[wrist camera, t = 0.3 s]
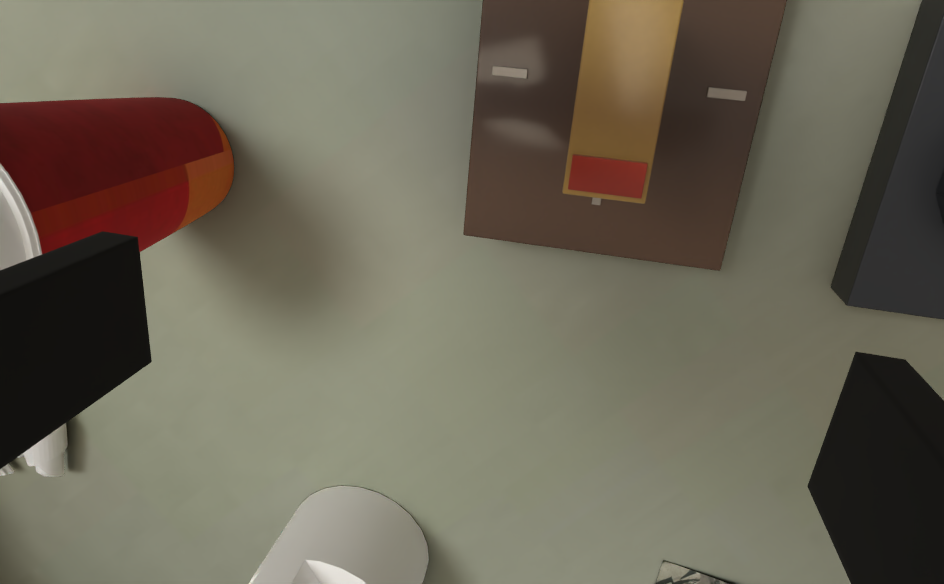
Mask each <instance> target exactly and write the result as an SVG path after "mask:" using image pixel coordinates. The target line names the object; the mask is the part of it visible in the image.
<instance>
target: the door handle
mask: <svg viewBox="0 0 944 584" xmlns="http://www.w3.org/2000/svg"><path fill="white" fill-rule="evenodd" d="M67 446H68V442H67V427H66V423H65V424H63V425H62V426H60V427H59V428H58V429H56V430H55V431H53V432H52V433H51V434H49V435H48V436H46V437H45V438H44V439H42V440H41V441H39V442H38V443H37V444H35V445H34V446H32V447H31V448H30V449H28V450H27V451H25V452H24V453H23V454H21V455H20V456H18V457H17V458H19V457H25V459H26V461H27V464H28V466H36V471H37V473H39V474H41V475H43V476H47V477H60V476H63V475H64V474H65V466H64V451H65V450H66V448H67ZM14 472H15V471H14V470H13V468H12V467H11V466H10V465H9V463H8V464H7V465H6V466H4V467H3V468H1V469H0V475H8V474H11V473H14Z"/></svg>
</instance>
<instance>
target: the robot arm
mask: <svg viewBox="0 0 944 584" xmlns="http://www.w3.org/2000/svg"><path fill="white" fill-rule="evenodd" d="M149 363H151V353H150V344H149V334H148V325H147V316H146V307H145V298H144V288H143V279H142V270H141V261H140V252H139V242H138V237H135V236H129V235H123V234H117V233H111V232H104V231H102V232H99V233H97V234H94V235H91V236H89V237H86V238H84V239H81V240H78V241H76V242H73V243H70V244H68V245H65V246H63V247H60V248H57V249H55V250H52V251H50V252H47V253H44V254H42V255H39V256H37V257H34V258H31V259H29V260H26V261H23V262H21V263H18V264H16V265H13V266H10V267H8V268H5V269H3V270H0V469H1V468H3V467H4V466H6V465H7V464H8V463H10V462H11V461H13V460H14V459H15V458H17V457H18V456H20V455H21V454H23V453H24V452H25V451H27V450H28V449H30V448H31V447H32V446H34V445H35V444H37V443H38V442H39V441H41V440H42V439H44V438H45V437H46V436H48V435H49V434H51V433H52V432H53V431H55V430H56V429H58V428H59V427H60V426H62V425H63V424H65V423H66V422H68V421H69V420H70V419H72V418H73V417H75V416H76V415H77V414H79V413H80V412H82V411H83V410H84V409H86V408H87V407H89V406H90V405H91V404H93V403H94V402H96V401H97V400H98V399H100V398H101V397H103V396H104V395H106V394H107V393H108V392H110V391H111V390H113V389H114V388H115V387H117V386H118V385H120V384H121V383H122V382H124V381H125V380H127V379H128V378H129V377H131V376H132V375H134V374H135V373H136V372H138V371H139V370H141V369H142V368H143V367H145V366H146V365H148V364H149ZM808 488H809V491H810V493H811V495H812V497H813V500H814V502H815V504H816V506H817V509H818V511H819V513H820V515H821V518H822V520H823V522H824V524H825V526H826V529H827V531H828V533H829V535H830V538H831V540H832V542H833V544H834V547H835V549H836V551H837V553H838V555H839V558H840V560H841V562H842V564H843V567H844V569H845V571H846V573H847V576H848V578H849V580H850V582H851V584H944V401H943V400H942V399H941V397H940V396H939V395H938V394H937V393H936V392H935V391H934V390H933V389H932V388H931V387H930V386H929V385H928V383H927V382H926V381H925V380H924V379H923V378H922V377H921V376H920V375H919V374H918V373H917V372H916V371H915V370H914V368H913V367H912V366H911V365H910V364H909V363H908V362H907V361H906V360H904V359H897V358H891V357H885V356H879V355H872V354H866V353H860V352H856V353H855V355H854V358H853V361H852V364H851V367H850V369H849V372H848V375H847V378H846V380H845V383H844V386H843V389H842V392H841V394H840V397H839V400H838V403H837V406H836V408H835V411H834V414H833V417H832V419H831V422H830V425H829V428H828V431H827V433H826V436H825V439H824V442H823V445H822V447H821V450H820V453H819V456H818V458H817V461H816V464H815V467H814V470H813V472H812V475H811V478H810V481H809V484H808Z"/></svg>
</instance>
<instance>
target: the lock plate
mask: <svg viewBox="0 0 944 584" xmlns="http://www.w3.org/2000/svg"><path fill="white" fill-rule="evenodd" d="M786 2H787V0H684V3H683V8H682V13H681V18H680V23H679V29H678V34H677V39H676V44H675V50H674V55H673V60H672V65H671V71H670V76H669V81H668V86H667V91H666V97H665V102H664V107H663V112H662V118H661V123H660V128H659V133H658V139H657V144H656V149H655V154H654V159H653V165H652V170H651V175H650V180H649V186H648V191H647V196H646V201H645V203H644V204H641V203H633V202H625V201H617V200H609V199H601V198H594V197H586V196H578V195H570V194H564V193H563V192H562V191H563V184H564V177H565V170H566V163H567V156H568V149H569V141H570V134H571V127H572V120H573V113H574V106H575V99H576V91H577V84H578V77H579V70H580V63H581V56H582V49H583V42H584V34H585V27H586V20H587V13H588V6H589V0H483V6H482V18H481V30H480V42H479V54H478V66H477V78H476V90H475V102H474V114H473V126H472V138H471V150H470V162H469V174H468V186H467V198H466V210H465V223H464V235H468V236H475V237H482V238H489V239H496V240H503V241H511V242H518V243H525V244H532V245H539V246H546V247H554V248H561V249H568V250H575V251H582V252H589V253H596V254H604V255H611V256H618V257H625V258H632V259H639V260H646V261H654V262H661V263H668V264H675V265H682V266H689V267H697V268H704V269H711V270H718V271H720V270H721V266H722V261H723V257H724V253H725V249H726V245H727V241H728V237H729V233H730V229H731V225H732V221H733V217H734V213H735V209H736V205H737V201H738V197H739V193H740V188H741V184H742V180H743V176H744V172H745V168H746V164H747V160H748V156H749V152H750V148H751V144H752V140H753V136H754V132H755V128H756V124H757V120H758V115H759V111H760V107H761V103H762V99H763V95H764V91H765V87H766V83H767V79H768V75H769V71H770V67H771V63H772V59H773V55H774V51H775V47H776V42H777V38H778V34H779V30H780V26H781V22H782V18H783V14H784V10H785V6H786Z"/></svg>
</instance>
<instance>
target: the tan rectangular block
mask: <svg viewBox="0 0 944 584" xmlns="http://www.w3.org/2000/svg"><path fill="white" fill-rule="evenodd" d="M683 3H684V0H589V6H588V13H587V20H586V27H585V34H584V42H583V49H582V56H581V63H580V70H579V77H578V84H577V91H576V99H575V106H574V113H573V120H572V127H571V134H570V141H569V149H568V156H567V163H566V170H565V177H564V184H563V191H562V192H563V193H564V194H570V195H578V196H586V197H594V198H601V199H609V200H617V201H625V202H633V203H641V204H644V203H645V201H646V196H647V191H648V186H649V180H650V175H651V170H652V165H653V159H654V154H655V149H656V144H657V139H658V133H659V128H660V123H661V118H662V112H663V107H664V102H665V97H666V91H667V86H668V81H669V76H670V71H671V65H672V60H673V55H674V50H675V44H676V39H677V34H678V29H679V23H680V18H681V13H682V8H683Z"/></svg>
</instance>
